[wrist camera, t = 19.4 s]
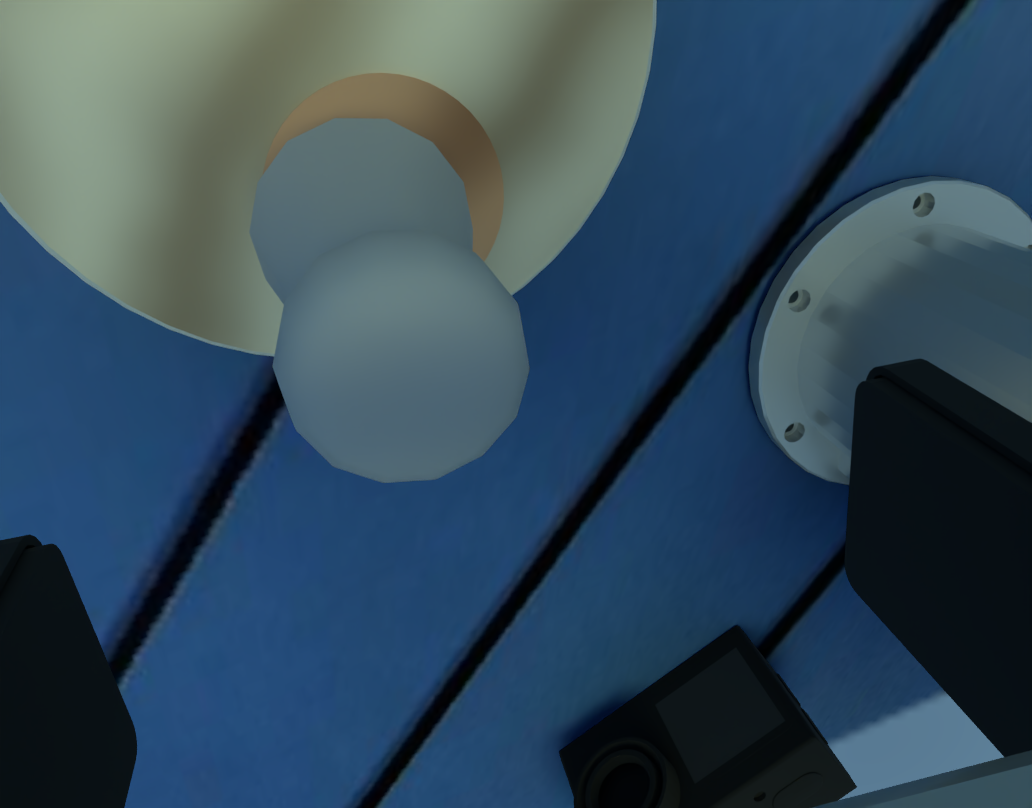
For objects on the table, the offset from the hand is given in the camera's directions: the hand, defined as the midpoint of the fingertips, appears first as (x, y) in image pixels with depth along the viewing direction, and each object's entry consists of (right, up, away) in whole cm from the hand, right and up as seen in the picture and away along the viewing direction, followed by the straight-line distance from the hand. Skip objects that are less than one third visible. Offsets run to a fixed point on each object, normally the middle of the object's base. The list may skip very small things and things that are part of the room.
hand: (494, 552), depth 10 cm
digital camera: (+7, -12, +31) cm, 34 cm away
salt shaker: (-4, +7, +15) cm, 18 cm away
